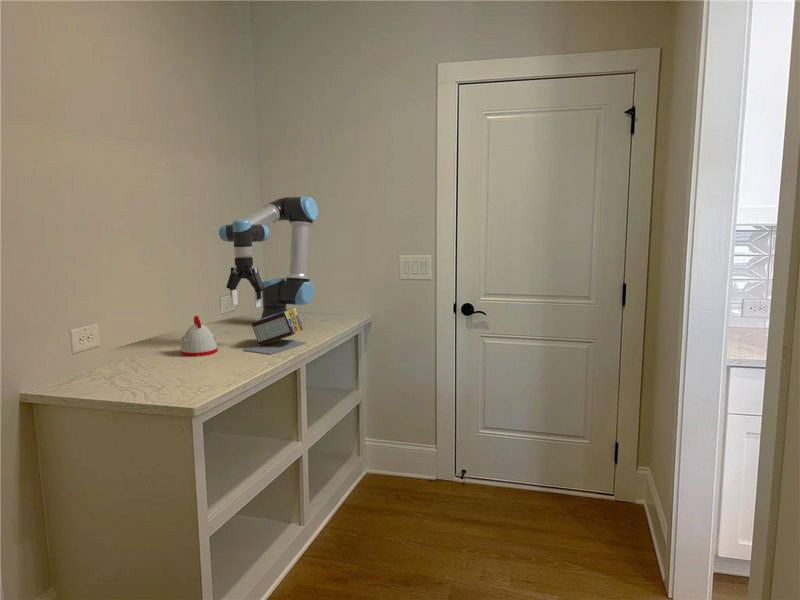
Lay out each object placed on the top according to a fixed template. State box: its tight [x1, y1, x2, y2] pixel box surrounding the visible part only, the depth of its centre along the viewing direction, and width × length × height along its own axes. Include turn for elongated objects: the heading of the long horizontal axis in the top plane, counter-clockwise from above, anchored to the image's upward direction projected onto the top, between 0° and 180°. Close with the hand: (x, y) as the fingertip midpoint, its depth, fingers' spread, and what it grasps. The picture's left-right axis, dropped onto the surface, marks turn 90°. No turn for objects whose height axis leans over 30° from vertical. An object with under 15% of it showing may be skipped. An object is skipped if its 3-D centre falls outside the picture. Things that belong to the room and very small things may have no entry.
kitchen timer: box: [180, 315, 218, 358], centre depth 218 cm, size 14×14×15 cm
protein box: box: [251, 307, 303, 346], centre depth 231 cm, size 10×15×16 cm
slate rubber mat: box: [242, 338, 307, 356], centre depth 226 cm, size 22×15×1 cm
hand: (246, 305), depth 233 cm, fingers open, 13 cm apart
